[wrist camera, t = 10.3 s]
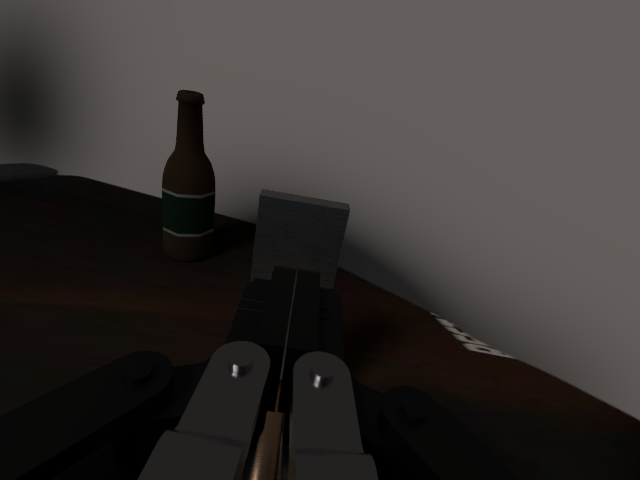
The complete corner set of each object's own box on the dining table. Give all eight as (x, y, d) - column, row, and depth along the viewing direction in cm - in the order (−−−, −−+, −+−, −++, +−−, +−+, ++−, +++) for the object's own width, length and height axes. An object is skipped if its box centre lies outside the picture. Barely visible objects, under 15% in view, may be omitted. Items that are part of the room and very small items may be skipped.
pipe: (255, 665, 18) (260, 645, 17) (203, 660, 18) (205, 640, 17) (299, 296, 47) (302, 279, 46) (279, 293, 47) (282, 276, 46)
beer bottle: (172, 268, 53) (171, 94, 42) (154, 244, 58) (149, 83, 47) (222, 257, 57) (231, 99, 47) (201, 236, 62) (206, 89, 52)
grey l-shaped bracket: (303, 416, 33) (349, 210, 24) (237, 407, 32) (259, 195, 23) (306, 366, 38) (345, 183, 29) (250, 358, 38) (272, 170, 29)
